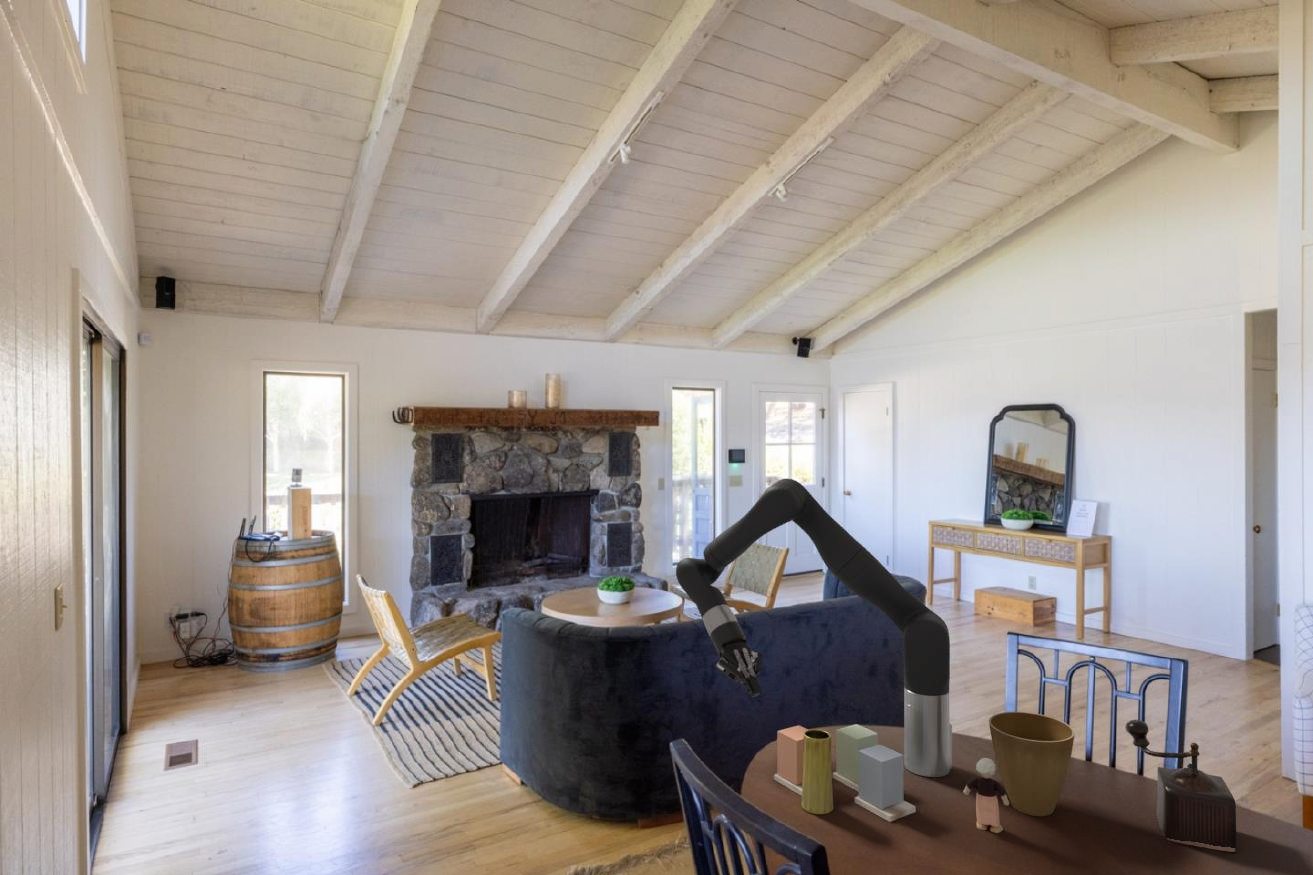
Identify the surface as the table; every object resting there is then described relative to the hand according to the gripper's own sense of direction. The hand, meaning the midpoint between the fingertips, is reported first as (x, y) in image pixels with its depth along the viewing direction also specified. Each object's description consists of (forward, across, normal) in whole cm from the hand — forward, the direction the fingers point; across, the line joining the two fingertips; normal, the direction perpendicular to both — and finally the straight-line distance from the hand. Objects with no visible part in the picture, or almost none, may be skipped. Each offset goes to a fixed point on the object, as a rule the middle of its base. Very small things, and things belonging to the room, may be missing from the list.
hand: (756, 694), depth 169 cm
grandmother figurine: (+42, +17, -22) cm, 51 cm away
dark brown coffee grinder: (+56, +46, -35) cm, 81 cm away
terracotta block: (+19, 0, -1) cm, 19 cm away
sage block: (+23, +11, -5) cm, 26 cm away
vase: (+27, -4, -7) cm, 28 cm away
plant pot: (+42, +31, -22) cm, 57 cm away
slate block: (+30, +7, -12) cm, 33 cm away
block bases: (+26, +5, -6) cm, 27 cm away
